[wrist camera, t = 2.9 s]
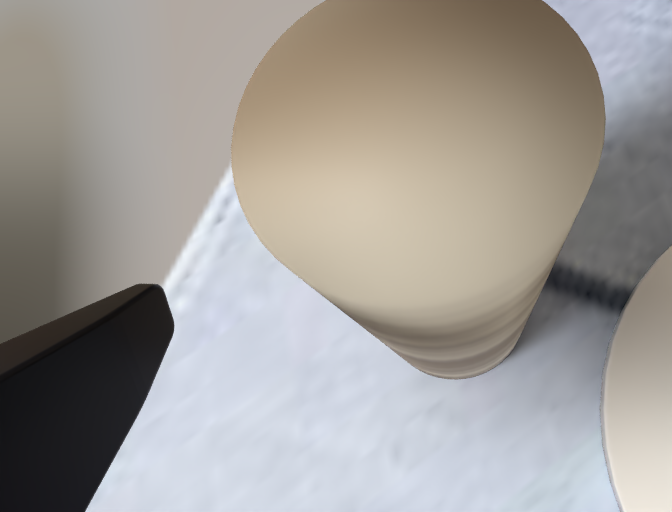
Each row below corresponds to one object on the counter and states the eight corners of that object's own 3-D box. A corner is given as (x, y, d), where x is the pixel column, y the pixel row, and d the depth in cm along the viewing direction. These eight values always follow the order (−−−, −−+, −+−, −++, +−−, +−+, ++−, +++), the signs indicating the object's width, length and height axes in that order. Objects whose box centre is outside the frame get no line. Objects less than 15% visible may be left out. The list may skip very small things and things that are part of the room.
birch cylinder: (546, 355, 17) (681, 226, 5) (406, 396, 17) (272, 356, 6) (494, 225, 18) (516, -84, 7) (367, 268, 19) (203, 48, 8)
